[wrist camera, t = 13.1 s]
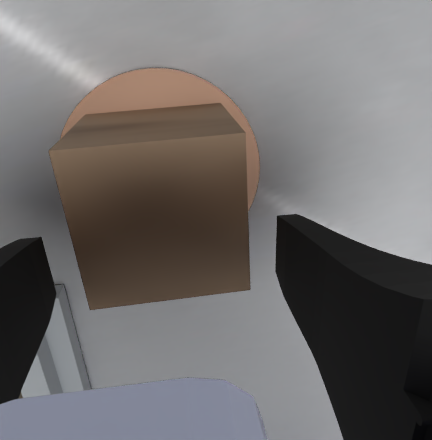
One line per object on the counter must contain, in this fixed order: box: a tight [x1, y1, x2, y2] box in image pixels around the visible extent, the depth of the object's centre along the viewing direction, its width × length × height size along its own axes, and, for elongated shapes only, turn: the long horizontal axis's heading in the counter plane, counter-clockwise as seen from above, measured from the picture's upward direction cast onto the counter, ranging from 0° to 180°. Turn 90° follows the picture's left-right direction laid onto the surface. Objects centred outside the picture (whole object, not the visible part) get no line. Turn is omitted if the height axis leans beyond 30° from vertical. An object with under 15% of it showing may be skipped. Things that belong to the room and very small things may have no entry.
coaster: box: [60, 68, 260, 211], centre depth 16 cm, size 8×8×1 cm
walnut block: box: [49, 103, 250, 310], centre depth 13 cm, size 5×5×5 cm
